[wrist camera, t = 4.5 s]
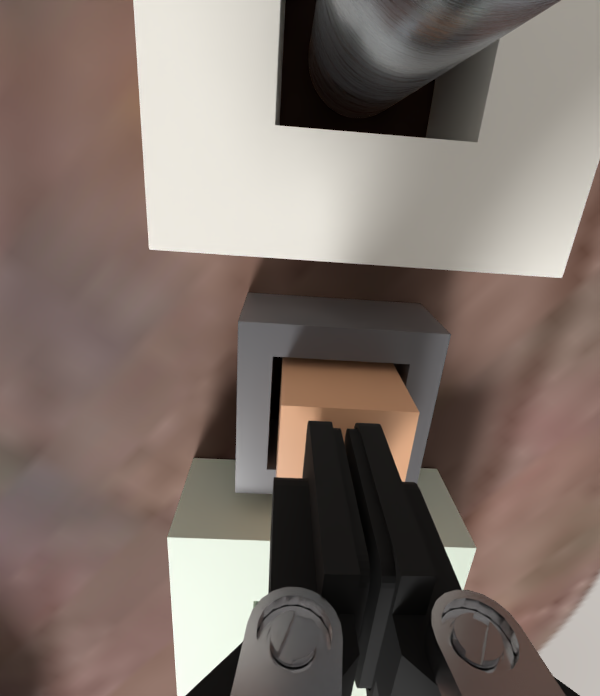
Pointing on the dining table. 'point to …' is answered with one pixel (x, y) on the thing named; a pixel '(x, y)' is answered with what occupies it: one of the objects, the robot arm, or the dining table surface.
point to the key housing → (331, 344)
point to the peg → (400, 45)
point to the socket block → (367, 148)
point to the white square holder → (249, 561)
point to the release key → (342, 406)
